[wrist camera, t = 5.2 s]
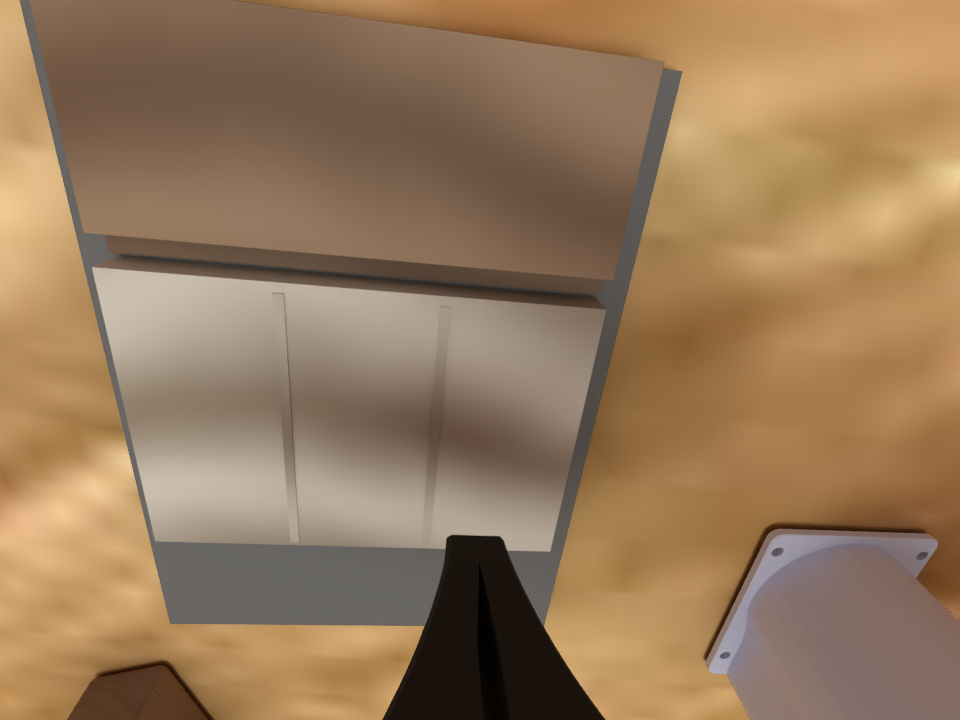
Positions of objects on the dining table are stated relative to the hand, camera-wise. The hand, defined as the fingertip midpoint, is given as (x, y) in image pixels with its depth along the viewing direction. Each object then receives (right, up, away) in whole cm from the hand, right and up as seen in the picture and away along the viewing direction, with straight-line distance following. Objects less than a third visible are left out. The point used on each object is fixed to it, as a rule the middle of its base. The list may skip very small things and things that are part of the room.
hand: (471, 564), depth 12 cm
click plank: (-4, +3, +4) cm, 7 cm away
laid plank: (-3, +11, +1) cm, 11 cm away
